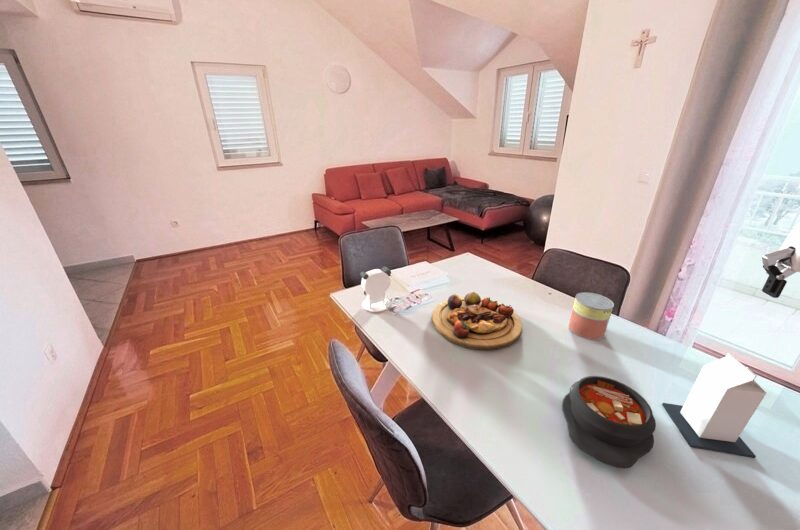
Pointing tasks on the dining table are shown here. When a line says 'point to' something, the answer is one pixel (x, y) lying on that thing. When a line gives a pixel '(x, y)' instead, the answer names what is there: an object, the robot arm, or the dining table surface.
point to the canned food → (590, 315)
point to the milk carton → (722, 400)
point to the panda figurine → (375, 289)
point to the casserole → (609, 421)
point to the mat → (704, 443)
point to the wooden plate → (477, 322)
